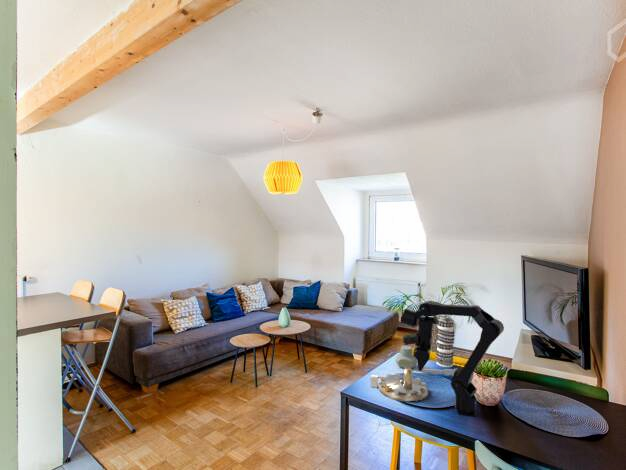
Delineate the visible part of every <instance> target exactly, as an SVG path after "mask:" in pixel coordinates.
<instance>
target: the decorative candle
mask: <svg viewBox="0 0 626 470" xmlns="http://www.w3.org/2000/svg"><path fill="white" fill-rule="evenodd" d="M437 320H438V321H439V323H437V325H436V326H435V328H436V329H435V331H436V335H435V336H436V343H437V346H436V351H435V352H436V353H435V354H436V356H435V358H436V359H435V361H436V363H435V364H436V365H438V366H440V367H442V368H452V367H453V366H454V353H455V352H454V348H453V346H454V343H455V338H454V337H455V333H456V332H455V331H454V319H453V318H452V317H451V316H449V315H440V317H438V318H437Z"/></svg>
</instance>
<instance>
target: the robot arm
mask: <svg viewBox="0 0 626 470" xmlns="http://www.w3.org/2000/svg"><path fill="white" fill-rule="evenodd" d="M437 316H457V317H458V316H459V317H471V318H472V319H473V320H474V321H475V323H476V324H477V325H478V327H479V328H480V329H482V330H481V332H480V335H479V336H480V338H479V340H478V343H477V344H476V346H475V347H474V349H473V350H472V352H471V354H470V356H469V358H468V359H467V361H466V362H465V364H464V366H463V368H462V367H461V366H458V367H457V368H458V369H457V370H456V371H455V370H454V371H455V372H454V375H453V376H451V377H450V380H451V381H450V387H451V388H452V390H453V392H454V394H455V397H454V408H455V410H456V412H457V414H458V415H463V416H471V417H476V416H477V414H476V397H475V394H476V393H477V390H478V389H477V388H476V386H475V385H474V384H473V382H472V381H473V378H474V373H475V371H476V369H477V368H478V366H479V365H480V363H481V361H482V359H483V357H484V356H485V355H486V353H487V351H488V350H489V348H490V346H491V345H492V344H493V342H495V341H496V339H497V338H498V337H499V336H501V334H502V333H503V332H504V330H505V326H504V324H503V323H502V321H500V320H498V319H497V318H494V317H493V315H492V314H490V313H488V312H487V311H485V310H484V309H483V308H482V307H480V306H479V305H463V304H462V305H461V304H445V303H440V302H439V301H433V300H427V301H424V302H422V303H421V304H420V305H419V308H418V309H417V310H416V311H414V310H411V309H408V308H405V309H404V310H403V313H402V315H401V317H400V323H401V325H404V326H407V327H410V328H411V327H412V328H416V327H418V329H417V332H416V333H407V334H404V335H403V336H402V340H403V341H402V343H403V344H404V346H409V345H414V346H416V347H414V350H413V353H412V355H413V356H414V357H415V358H416V359H417V370H418V371H417V372H419V371H422V369H424V367H425V366H426V364H427V363H428V362H429V360H430V358H431V351H430V350H432V349H431V348H432V342H433V340H432V337H433V330H434V325H436V324H437V325H438V323H439V321H438V318H437Z"/></svg>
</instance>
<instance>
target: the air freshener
mask: <svg viewBox="0 0 626 470" xmlns="http://www.w3.org/2000/svg"><path fill="white" fill-rule="evenodd" d="M394 359H395V363H396V365H398V366H399V367H401V368H402V369H404V368H411V369H412V368H415V367H416V366H418V362H417V359H416V358H415V357H414V356H413V347H411V346H410V345H401V346H400V352H399V354H397V355H396V356H395V358H394Z"/></svg>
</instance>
